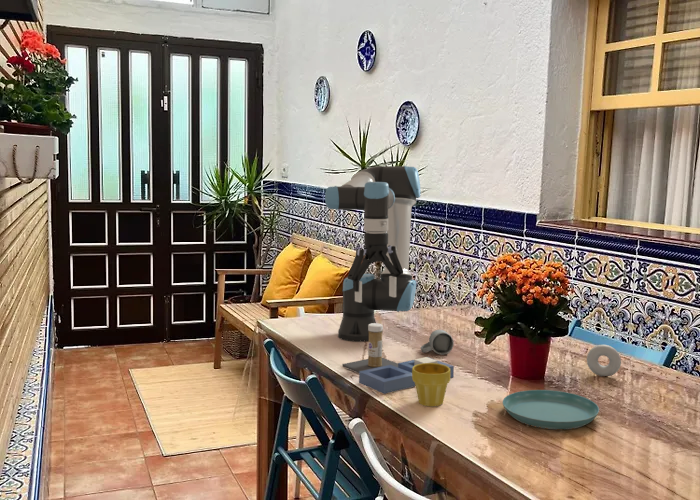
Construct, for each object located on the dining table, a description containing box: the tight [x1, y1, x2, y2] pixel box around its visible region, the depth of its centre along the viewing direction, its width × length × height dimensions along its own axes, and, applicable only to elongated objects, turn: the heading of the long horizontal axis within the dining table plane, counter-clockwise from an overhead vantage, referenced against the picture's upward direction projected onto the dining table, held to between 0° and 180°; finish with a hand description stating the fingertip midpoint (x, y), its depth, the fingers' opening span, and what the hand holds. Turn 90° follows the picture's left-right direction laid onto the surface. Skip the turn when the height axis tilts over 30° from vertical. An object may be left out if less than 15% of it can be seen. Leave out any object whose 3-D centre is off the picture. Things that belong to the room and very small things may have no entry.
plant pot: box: [412, 363, 451, 408], centre depth 194 cm, size 10×10×10 cm
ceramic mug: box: [420, 329, 454, 356], centre depth 245 cm, size 11×8×8 cm
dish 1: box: [358, 365, 416, 395], centre depth 209 cm, size 12×12×4 cm
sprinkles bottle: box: [367, 322, 384, 367], centre depth 225 cm, size 5×5×14 cm
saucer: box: [502, 389, 600, 430], centre depth 185 cm, size 24×24×3 cm
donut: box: [586, 344, 622, 377], centre depth 217 cm, size 10×4×10 cm, turn 65°
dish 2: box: [397, 356, 455, 379], centre depth 218 cm, size 12×12×4 cm
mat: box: [341, 357, 399, 374], centre depth 226 cm, size 15×15×1 cm
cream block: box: [413, 356, 438, 366], centre depth 218 cm, size 5×5×5 cm
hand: (375, 299), depth 223 cm, fingers open, 13 cm apart
